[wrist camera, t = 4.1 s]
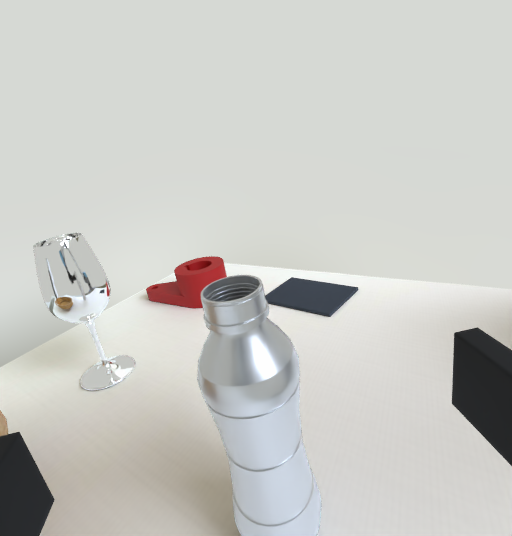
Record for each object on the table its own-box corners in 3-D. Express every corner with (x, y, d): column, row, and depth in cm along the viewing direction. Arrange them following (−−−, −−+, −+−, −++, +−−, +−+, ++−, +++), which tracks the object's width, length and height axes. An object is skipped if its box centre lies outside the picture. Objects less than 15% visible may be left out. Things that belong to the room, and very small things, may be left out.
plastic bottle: (239, 584, 24) (161, 327, 17) (240, 490, 30) (184, 275, 23) (334, 571, 23) (295, 305, 16) (316, 478, 30) (282, 258, 23)
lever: (236, 285, 72) (230, 255, 69) (218, 308, 64) (210, 274, 61) (162, 287, 78) (154, 259, 76) (137, 307, 70) (127, 277, 68)
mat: (358, 289, 61) (358, 287, 61) (329, 316, 54) (329, 314, 54) (292, 279, 70) (291, 277, 70) (260, 301, 63) (260, 299, 63)
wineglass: (130, 384, 47) (79, 241, 40) (71, 397, 46) (8, 255, 39) (141, 351, 54) (99, 226, 47) (89, 362, 54) (39, 237, 47)
